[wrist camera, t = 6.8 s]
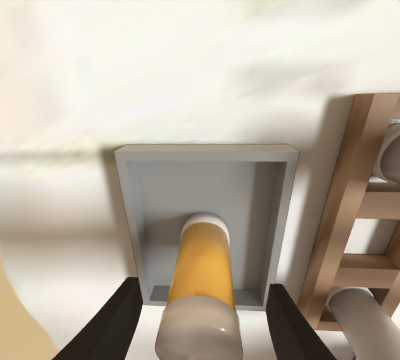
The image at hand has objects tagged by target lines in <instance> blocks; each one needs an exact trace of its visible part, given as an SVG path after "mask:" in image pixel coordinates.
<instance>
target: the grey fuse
mask: <svg viewBox="0 0 400 360" xmlns="http://www.w3.org/2000/svg"><path fill="white" fill-rule="evenodd" d="M325 304H326V305H327V307H328V309H329V310H330V311H331V312H332V314H333V316H334V317H335V319H336V321H337V323H338V325H339V326H340V328H341V330H342V332H343V334H344V335H345V337H346V339H347V341H348V342H349V344H350V346H351V348H352V350H353V351H354V353H355V355H356V357H357V359H358V360H400V330H399V328H398V327H397V326H396V325H395V323H394V322H393V321H392V320H391V319H390V317H389V316H388V315H387V314H386V312H385V311H384V310H383V309H382V307H381V306H380V305H379V304H378V303H377V301H376V300H375V299H374V297H373V295H372V293H371V292H370V291H369V289H368V288H365V287H342V286H331V289H330V292H329V295H328V298H327V300H326V303H325Z"/></svg>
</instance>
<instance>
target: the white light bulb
mask: <svg viewBox="0 0 400 360" xmlns="http://www.w3.org/2000/svg"><path fill="white" fill-rule="evenodd" d="M372 174H373V175H375V176H377V177H379V178H381V179H383V180H385V181H387V182H390V183H393V184H398V185H400V123H397V124H394V125H391V126H389V127H388V129H387V131H386V134H385V137H384V140H383V143H382V145H381V148H380V151H379V154H378V157H377V160H376V162H375V165H374V168H373V171H372Z"/></svg>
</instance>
